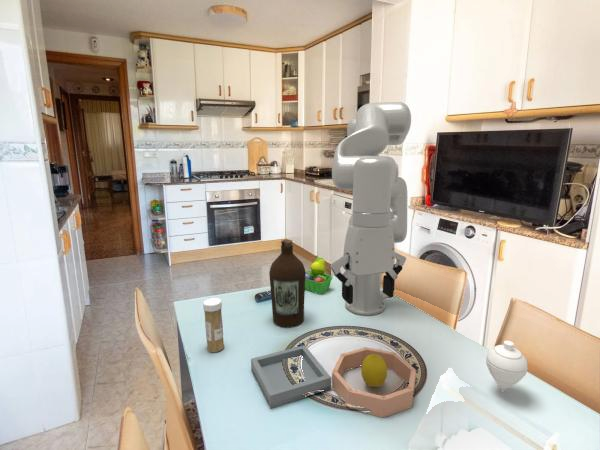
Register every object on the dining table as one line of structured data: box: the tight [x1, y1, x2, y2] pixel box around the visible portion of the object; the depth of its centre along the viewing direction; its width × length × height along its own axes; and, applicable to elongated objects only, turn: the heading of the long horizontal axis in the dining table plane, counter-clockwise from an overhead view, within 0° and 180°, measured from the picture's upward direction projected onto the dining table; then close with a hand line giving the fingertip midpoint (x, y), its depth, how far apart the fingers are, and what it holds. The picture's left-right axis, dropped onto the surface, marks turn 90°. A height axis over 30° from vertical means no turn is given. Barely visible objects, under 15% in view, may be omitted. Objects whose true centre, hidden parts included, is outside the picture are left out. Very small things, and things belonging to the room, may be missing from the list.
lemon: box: [360, 354, 388, 388], centre depth 80 cm, size 6×6×8 cm
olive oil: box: [268, 239, 306, 329], centre depth 108 cm, size 11×11×25 cm
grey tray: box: [250, 344, 332, 409], centre depth 83 cm, size 14×14×3 cm
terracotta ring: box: [331, 346, 417, 418], centre depth 80 cm, size 17×17×4 cm
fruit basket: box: [305, 257, 333, 295], centre depth 132 cm, size 11×9×11 cm
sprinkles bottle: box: [202, 297, 225, 353], centre depth 95 cm, size 5×5×13 cm
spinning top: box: [485, 340, 529, 394], centre depth 77 cm, size 8×8×12 cm
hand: (368, 298), depth 78 cm, fingers open, 9 cm apart
